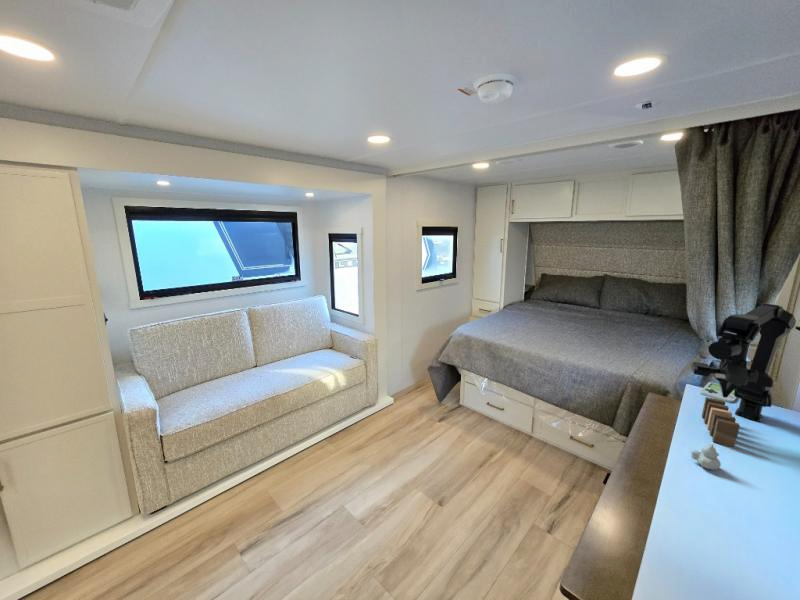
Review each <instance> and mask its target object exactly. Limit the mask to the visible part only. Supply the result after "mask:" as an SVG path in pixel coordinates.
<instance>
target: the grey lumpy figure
mask: <svg viewBox="0 0 800 600" xmlns="http://www.w3.org/2000/svg"><path fill="white" fill-rule="evenodd" d="M719 456H720V454H719V452H717V450H716V448H715V447H714V443H713V444H707V445H704V446H703V447H702V448H701V449H700V451H699V450H695V449H691V455H690V457H691V458H692V459H693V460H695V461H697V463H699V465H700V466H701V467H702V468H706V469H707V470H712V471H713V470H717V469H719V468H720V467H721V461H720V460H719V458H718V457H719Z"/></svg>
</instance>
